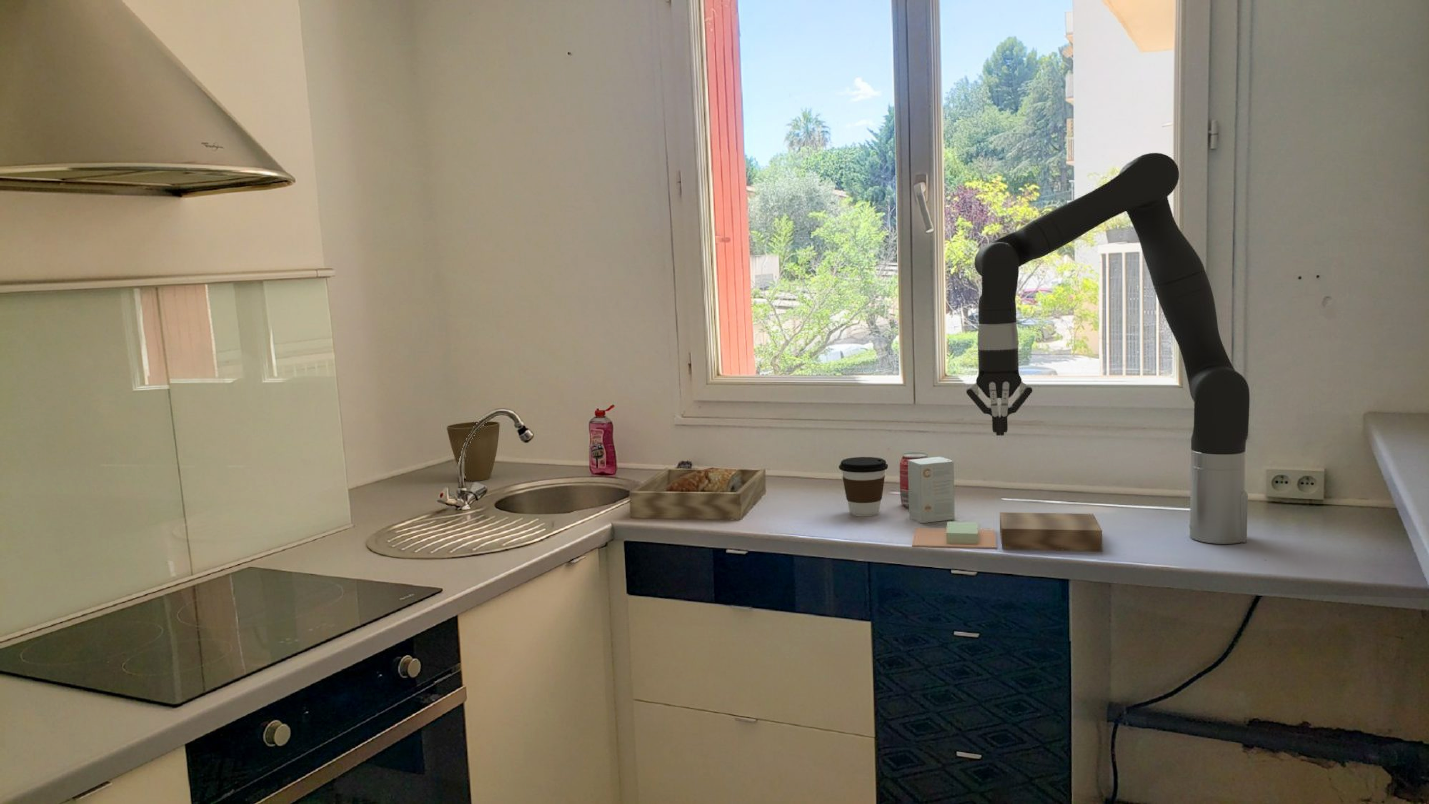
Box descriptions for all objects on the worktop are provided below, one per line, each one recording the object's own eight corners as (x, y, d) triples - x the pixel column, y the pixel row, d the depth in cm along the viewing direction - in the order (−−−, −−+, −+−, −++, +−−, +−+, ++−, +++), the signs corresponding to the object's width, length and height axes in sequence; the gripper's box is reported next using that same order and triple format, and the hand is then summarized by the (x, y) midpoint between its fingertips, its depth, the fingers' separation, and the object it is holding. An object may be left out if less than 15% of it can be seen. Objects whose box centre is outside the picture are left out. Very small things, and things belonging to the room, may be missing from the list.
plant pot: (511, 478, 280) (507, 423, 278) (460, 486, 272) (455, 429, 270) (493, 471, 292) (489, 418, 290) (444, 478, 284) (440, 424, 282)
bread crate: (766, 492, 246) (765, 468, 246) (741, 519, 219) (740, 493, 218) (666, 491, 253) (665, 468, 252) (630, 517, 226) (629, 492, 225)
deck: (1093, 533, 195) (1093, 513, 194) (1102, 551, 182) (1102, 530, 182) (999, 531, 199) (999, 512, 199) (1002, 548, 187) (1001, 528, 187)
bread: (720, 519, 221) (718, 476, 220) (649, 515, 228) (647, 473, 227) (753, 500, 240) (752, 460, 238) (686, 496, 247) (685, 457, 246)
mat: (994, 531, 200) (994, 529, 200) (996, 548, 187) (996, 547, 187) (915, 529, 204) (915, 528, 204) (912, 546, 191) (912, 545, 191)
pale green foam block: (947, 521, 200) (947, 531, 200) (946, 532, 192) (946, 542, 192) (977, 522, 199) (977, 531, 199) (977, 533, 190) (977, 543, 190)
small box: (941, 513, 217) (940, 456, 215) (955, 519, 211) (954, 460, 209) (908, 517, 215) (907, 459, 213) (921, 523, 209) (919, 464, 207)
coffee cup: (887, 506, 225) (885, 455, 224) (890, 518, 214) (889, 464, 213) (839, 507, 226) (838, 457, 225) (841, 519, 215) (839, 466, 214)
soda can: (935, 503, 226) (934, 452, 225) (925, 510, 220) (924, 458, 219) (906, 501, 230) (905, 451, 228) (895, 507, 224) (894, 456, 222)
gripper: (1032, 344, 190) (1034, 431, 193) (962, 346, 194) (965, 432, 196) (1035, 346, 183) (1036, 437, 185) (962, 349, 187) (965, 438, 189)
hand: (999, 434), depth 191 cm, fingers closed
